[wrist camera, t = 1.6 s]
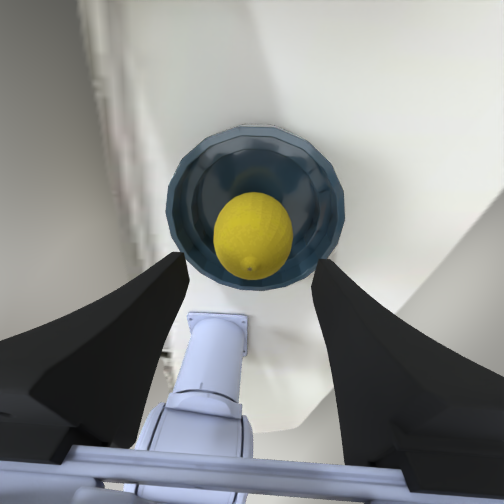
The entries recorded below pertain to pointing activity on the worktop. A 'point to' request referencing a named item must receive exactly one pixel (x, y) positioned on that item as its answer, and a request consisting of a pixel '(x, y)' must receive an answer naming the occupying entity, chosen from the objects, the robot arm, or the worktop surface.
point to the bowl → (263, 181)
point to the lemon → (253, 236)
